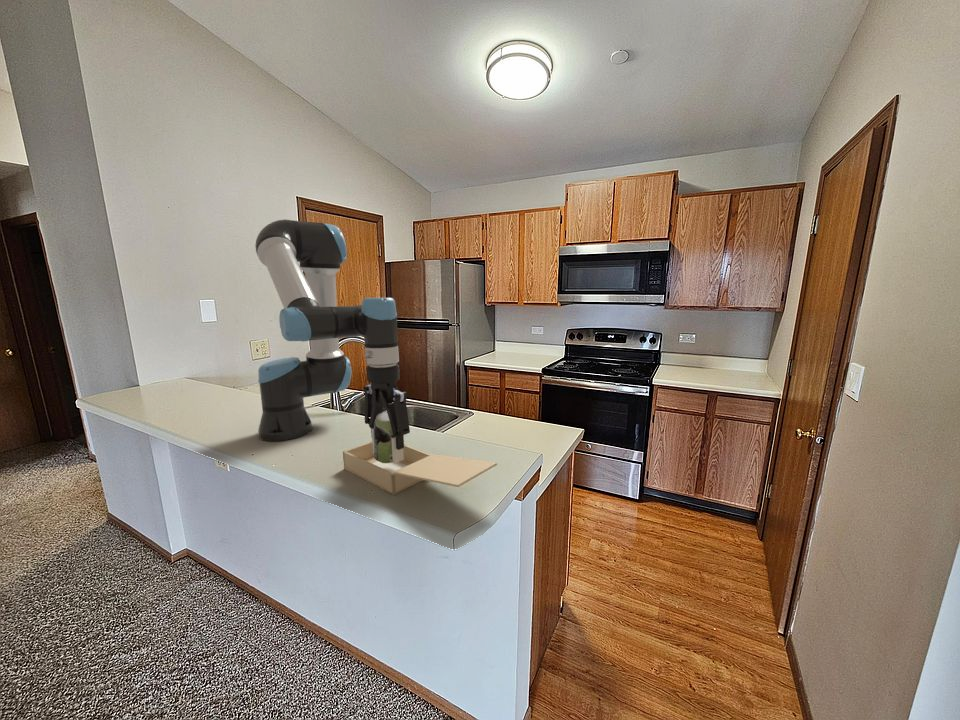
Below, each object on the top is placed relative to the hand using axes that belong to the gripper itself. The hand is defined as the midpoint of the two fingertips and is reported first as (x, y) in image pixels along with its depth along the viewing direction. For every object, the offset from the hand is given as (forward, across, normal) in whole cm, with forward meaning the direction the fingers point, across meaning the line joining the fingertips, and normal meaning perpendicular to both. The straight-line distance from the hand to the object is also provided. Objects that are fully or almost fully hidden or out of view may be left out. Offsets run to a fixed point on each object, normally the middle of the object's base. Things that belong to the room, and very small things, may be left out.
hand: (388, 456), depth 92 cm
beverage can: (+1, 0, 0) cm, 1 cm away
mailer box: (+4, 0, 0) cm, 4 cm away
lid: (-3, +19, 0) cm, 20 cm away
